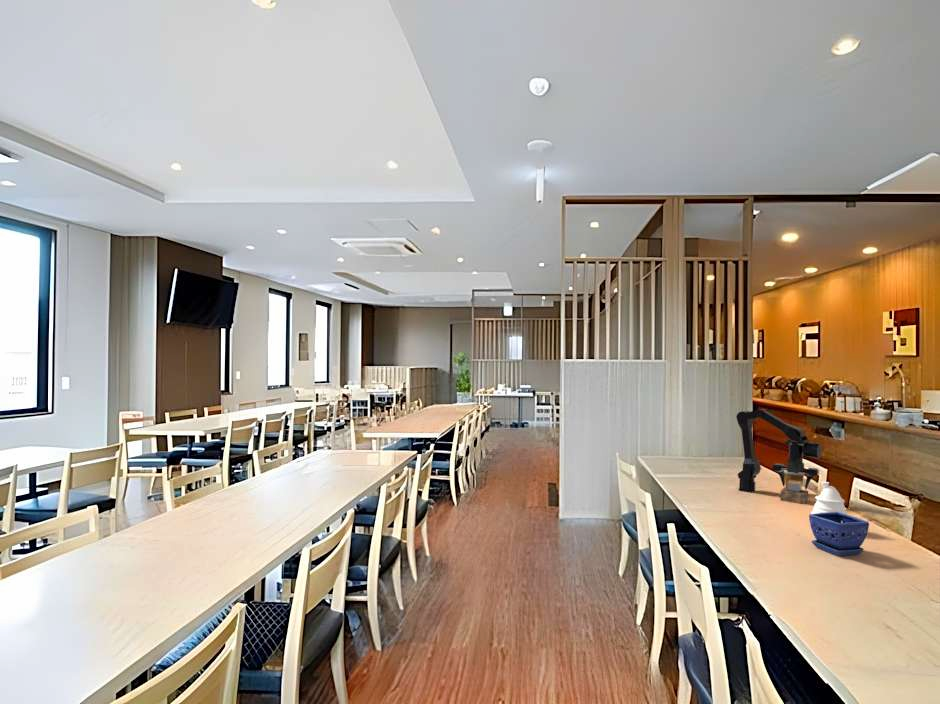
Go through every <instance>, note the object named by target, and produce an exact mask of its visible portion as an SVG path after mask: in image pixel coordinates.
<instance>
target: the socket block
mask: <svg viewBox="0 0 940 704" xmlns="http://www.w3.org/2000/svg"><path fill="white" fill-rule="evenodd" d="M780 501H781V502H782V501H783V502H788V503H793V504H794V503H795V504H800V505H805V504H807V502H808V501H809V490H807V489H806V490H805V489H801V493H797V492H790V491H788V488H786V486H784V487H783V488H782V489H781V490H780Z"/></svg>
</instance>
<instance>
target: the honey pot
mask: <svg viewBox="0 0 940 704" xmlns="http://www.w3.org/2000/svg"><path fill="white" fill-rule="evenodd" d="M821 486H823V487H824V488H823V490H822V491H821V493H820V494H819V495H816V496H815V500H816V502H815V503H814V506H813V509H812V510H811V512H810V514H815V513H828V512H840V513H843V514H846V515H848V511H847V508H846V507H845V499H844V498H842V496H841V494H840V492H839V491H838V490H837V489H836V487H834V486H833V485H830V482H829V481H824V480H823V481H821ZM841 523H842V521H841Z"/></svg>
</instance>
